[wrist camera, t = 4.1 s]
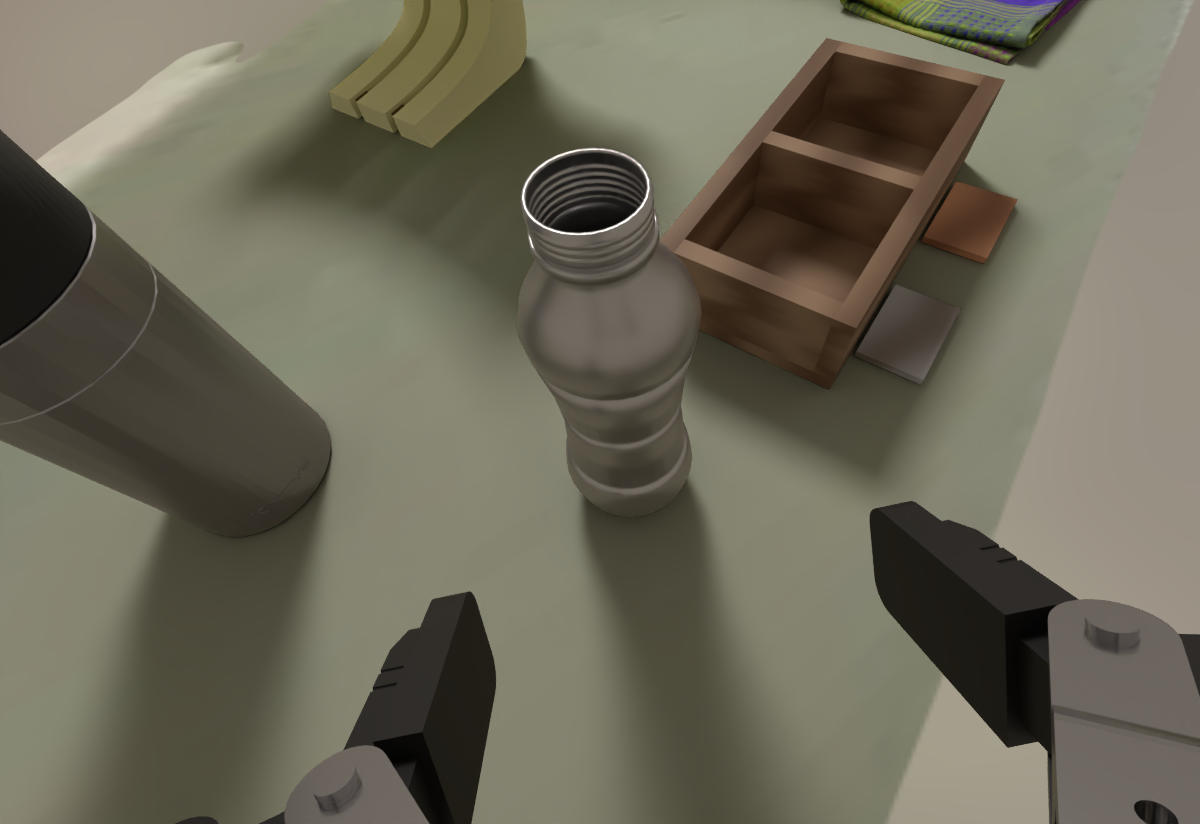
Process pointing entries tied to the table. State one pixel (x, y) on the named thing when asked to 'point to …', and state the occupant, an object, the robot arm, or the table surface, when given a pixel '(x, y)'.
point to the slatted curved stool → (436, 66)
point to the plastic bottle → (609, 327)
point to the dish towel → (968, 22)
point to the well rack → (842, 214)
